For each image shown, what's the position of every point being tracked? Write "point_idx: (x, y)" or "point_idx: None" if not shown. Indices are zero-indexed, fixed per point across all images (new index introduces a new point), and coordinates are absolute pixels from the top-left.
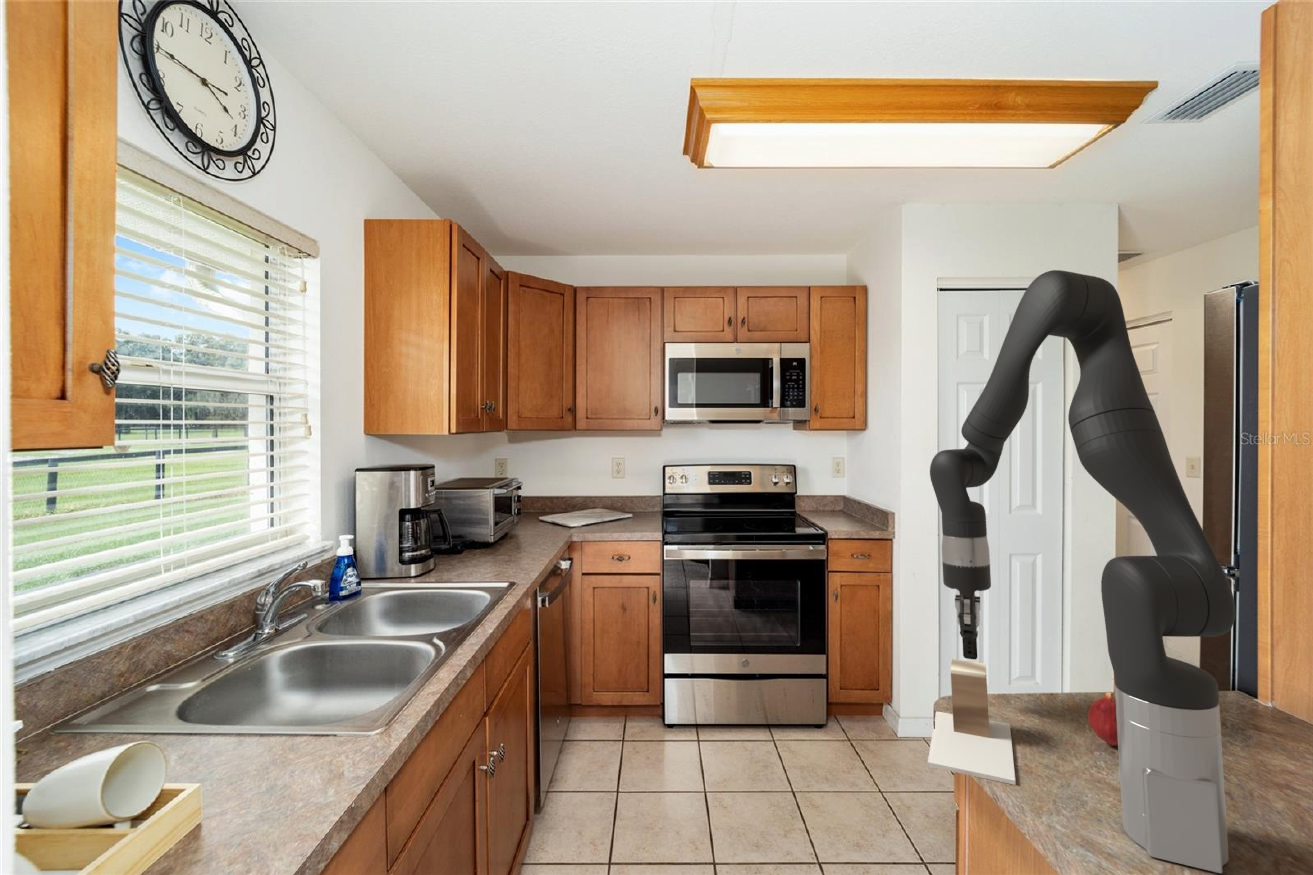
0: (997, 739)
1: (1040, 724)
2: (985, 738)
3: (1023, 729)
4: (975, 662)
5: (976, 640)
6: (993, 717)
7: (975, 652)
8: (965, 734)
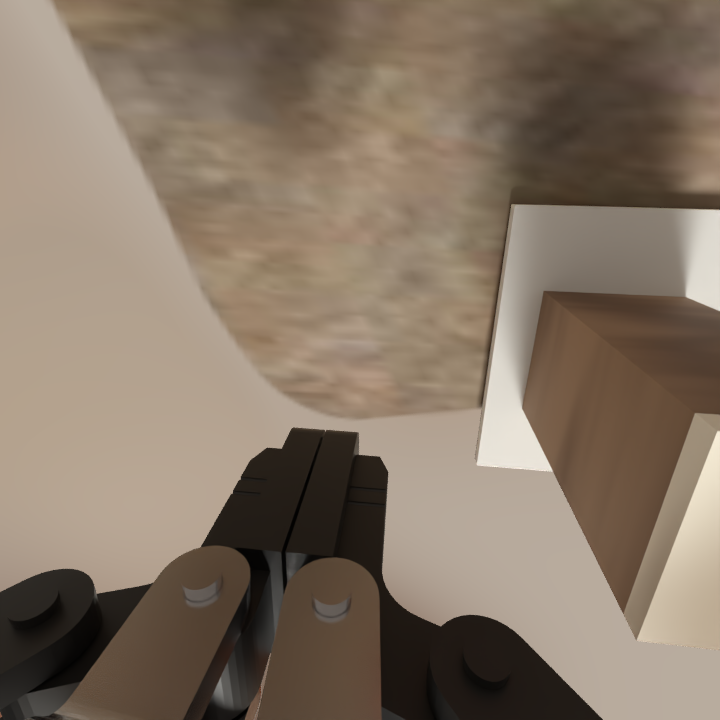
0: (692, 265)
1: (426, 59)
2: None
3: (509, 145)
4: (695, 505)
5: (330, 539)
6: (422, 264)
7: (353, 468)
8: None
